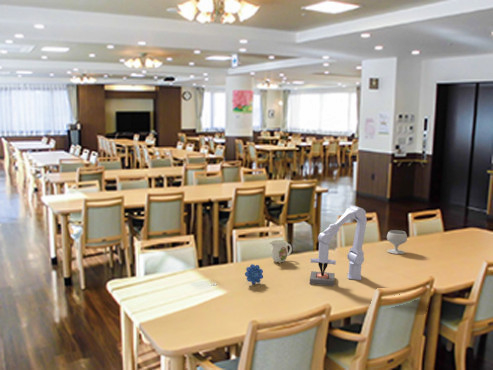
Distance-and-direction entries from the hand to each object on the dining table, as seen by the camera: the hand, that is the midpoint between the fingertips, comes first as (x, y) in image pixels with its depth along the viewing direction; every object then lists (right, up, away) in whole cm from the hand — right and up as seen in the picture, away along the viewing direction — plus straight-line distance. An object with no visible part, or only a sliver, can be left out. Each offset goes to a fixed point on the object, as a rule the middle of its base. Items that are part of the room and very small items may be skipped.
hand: (322, 275), depth 281 cm
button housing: (0, -4, +1) cm, 4 cm away
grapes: (-40, -4, -8) cm, 41 cm away
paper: (-65, -5, -14) cm, 67 cm away
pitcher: (-22, +2, +36) cm, 43 cm away
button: (0, -2, 0) cm, 2 cm away
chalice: (+63, +4, +63) cm, 89 cm away
